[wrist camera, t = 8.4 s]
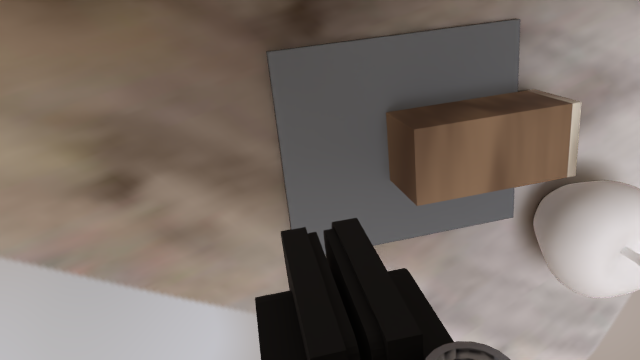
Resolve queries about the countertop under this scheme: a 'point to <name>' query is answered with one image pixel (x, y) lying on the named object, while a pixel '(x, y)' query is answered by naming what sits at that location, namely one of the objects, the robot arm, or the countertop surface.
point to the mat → (381, 124)
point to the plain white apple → (592, 237)
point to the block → (482, 145)
